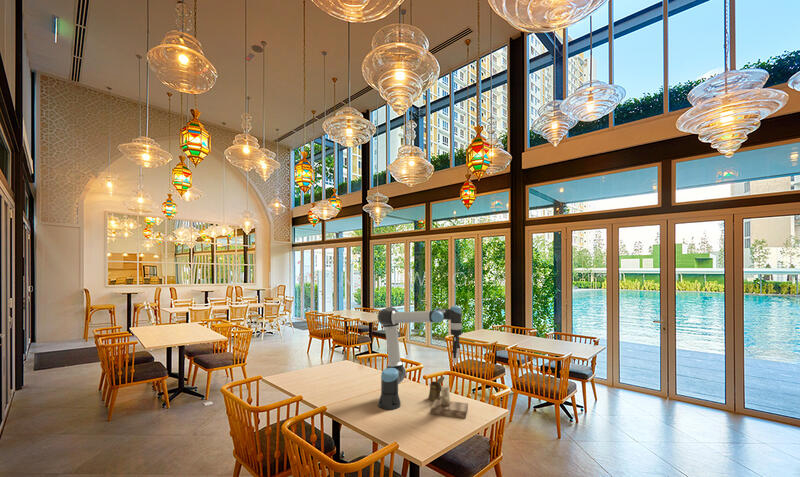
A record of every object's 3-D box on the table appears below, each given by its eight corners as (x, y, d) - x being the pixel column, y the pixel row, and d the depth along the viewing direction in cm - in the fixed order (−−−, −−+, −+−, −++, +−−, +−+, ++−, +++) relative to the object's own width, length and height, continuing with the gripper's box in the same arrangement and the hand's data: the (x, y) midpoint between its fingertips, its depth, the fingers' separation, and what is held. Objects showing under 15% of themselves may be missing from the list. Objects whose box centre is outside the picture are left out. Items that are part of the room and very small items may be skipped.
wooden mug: (437, 404, 245) (437, 377, 246) (425, 398, 256) (426, 372, 258) (447, 401, 250) (447, 375, 251) (435, 395, 261) (435, 370, 262)
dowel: (440, 411, 231) (440, 387, 232) (441, 408, 237) (441, 385, 238) (449, 412, 230) (449, 388, 231) (450, 409, 235) (450, 386, 236)
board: (431, 413, 229) (431, 407, 229) (435, 405, 242) (435, 399, 242) (465, 418, 223) (465, 411, 223) (467, 409, 236) (467, 403, 236)
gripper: (459, 332, 232) (459, 365, 231) (463, 326, 256) (463, 356, 254) (448, 331, 234) (448, 364, 233) (453, 325, 258) (453, 355, 257)
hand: (456, 360), depth 244 cm, fingers open, 13 cm apart
